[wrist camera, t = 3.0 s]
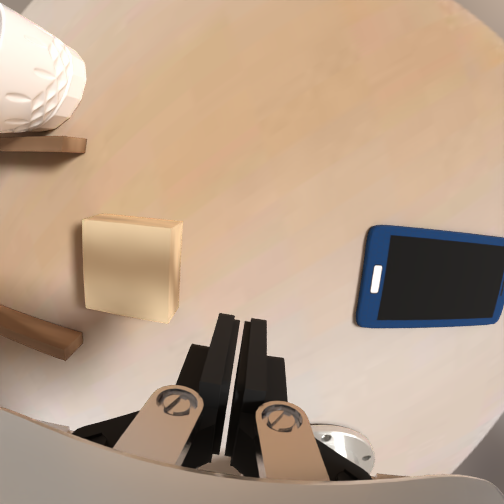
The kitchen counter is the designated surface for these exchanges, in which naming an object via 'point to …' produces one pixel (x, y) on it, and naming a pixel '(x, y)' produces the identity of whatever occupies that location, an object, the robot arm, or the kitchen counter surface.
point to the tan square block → (132, 266)
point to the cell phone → (430, 278)
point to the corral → (22, 325)
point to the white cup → (36, 76)
